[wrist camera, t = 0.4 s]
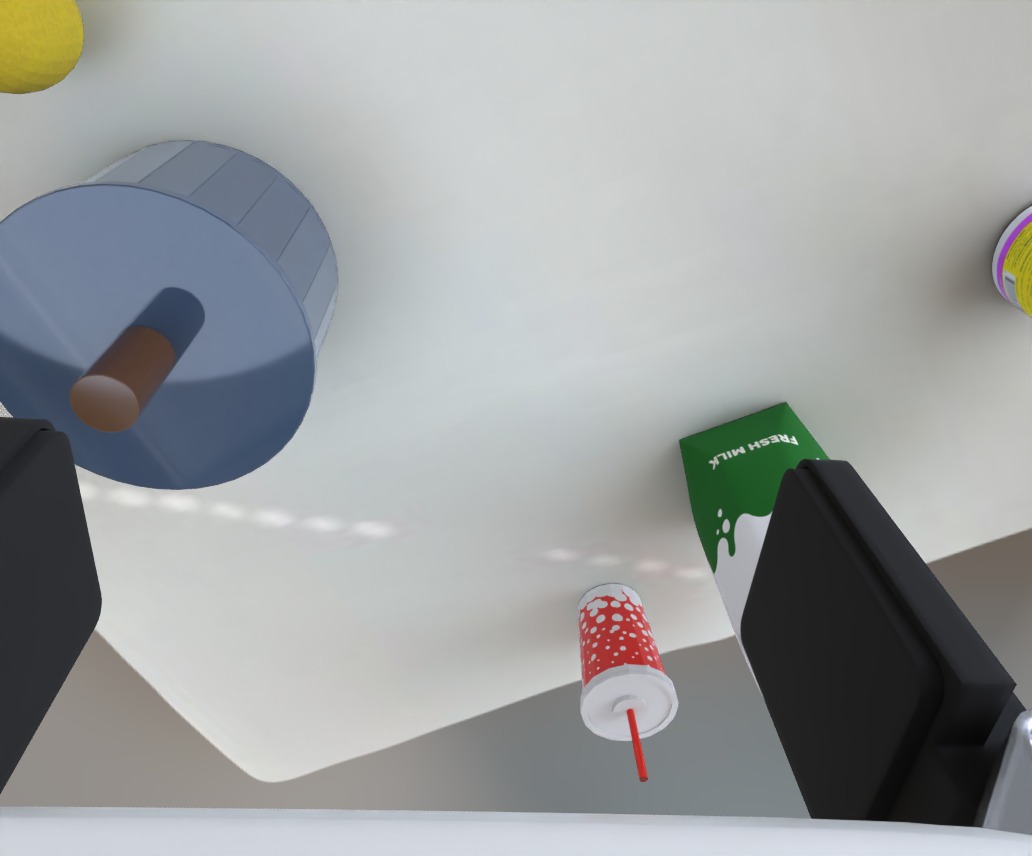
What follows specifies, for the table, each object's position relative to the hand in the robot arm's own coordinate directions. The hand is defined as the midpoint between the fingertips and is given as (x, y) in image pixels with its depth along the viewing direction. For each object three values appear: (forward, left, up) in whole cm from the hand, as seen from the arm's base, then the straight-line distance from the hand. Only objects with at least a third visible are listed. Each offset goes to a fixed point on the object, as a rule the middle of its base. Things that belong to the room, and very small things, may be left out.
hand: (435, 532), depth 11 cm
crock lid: (+11, -13, -25) cm, 30 cm away
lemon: (-1, -20, -35) cm, 40 cm away
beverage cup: (+33, +14, -35) cm, 50 cm away
